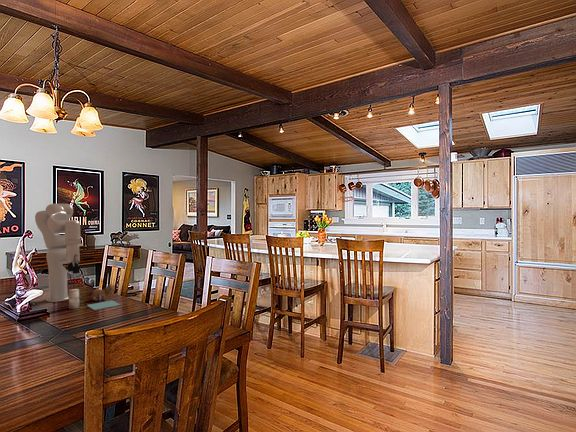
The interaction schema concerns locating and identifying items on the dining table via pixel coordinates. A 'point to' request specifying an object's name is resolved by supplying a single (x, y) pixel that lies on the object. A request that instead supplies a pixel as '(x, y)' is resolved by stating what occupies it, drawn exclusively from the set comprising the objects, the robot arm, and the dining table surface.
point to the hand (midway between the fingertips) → (73, 272)
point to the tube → (73, 298)
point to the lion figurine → (103, 292)
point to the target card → (103, 305)
